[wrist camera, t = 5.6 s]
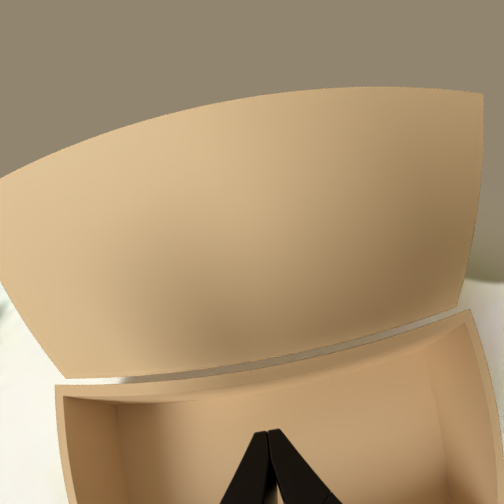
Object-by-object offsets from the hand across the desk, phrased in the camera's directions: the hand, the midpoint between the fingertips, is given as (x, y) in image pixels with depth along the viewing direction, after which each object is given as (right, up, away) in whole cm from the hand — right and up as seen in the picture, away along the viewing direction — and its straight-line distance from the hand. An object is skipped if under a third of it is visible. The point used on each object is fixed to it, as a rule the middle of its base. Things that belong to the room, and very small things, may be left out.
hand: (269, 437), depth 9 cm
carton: (+2, -8, +6) cm, 10 cm away
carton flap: (-1, +6, +1) cm, 6 cm away
